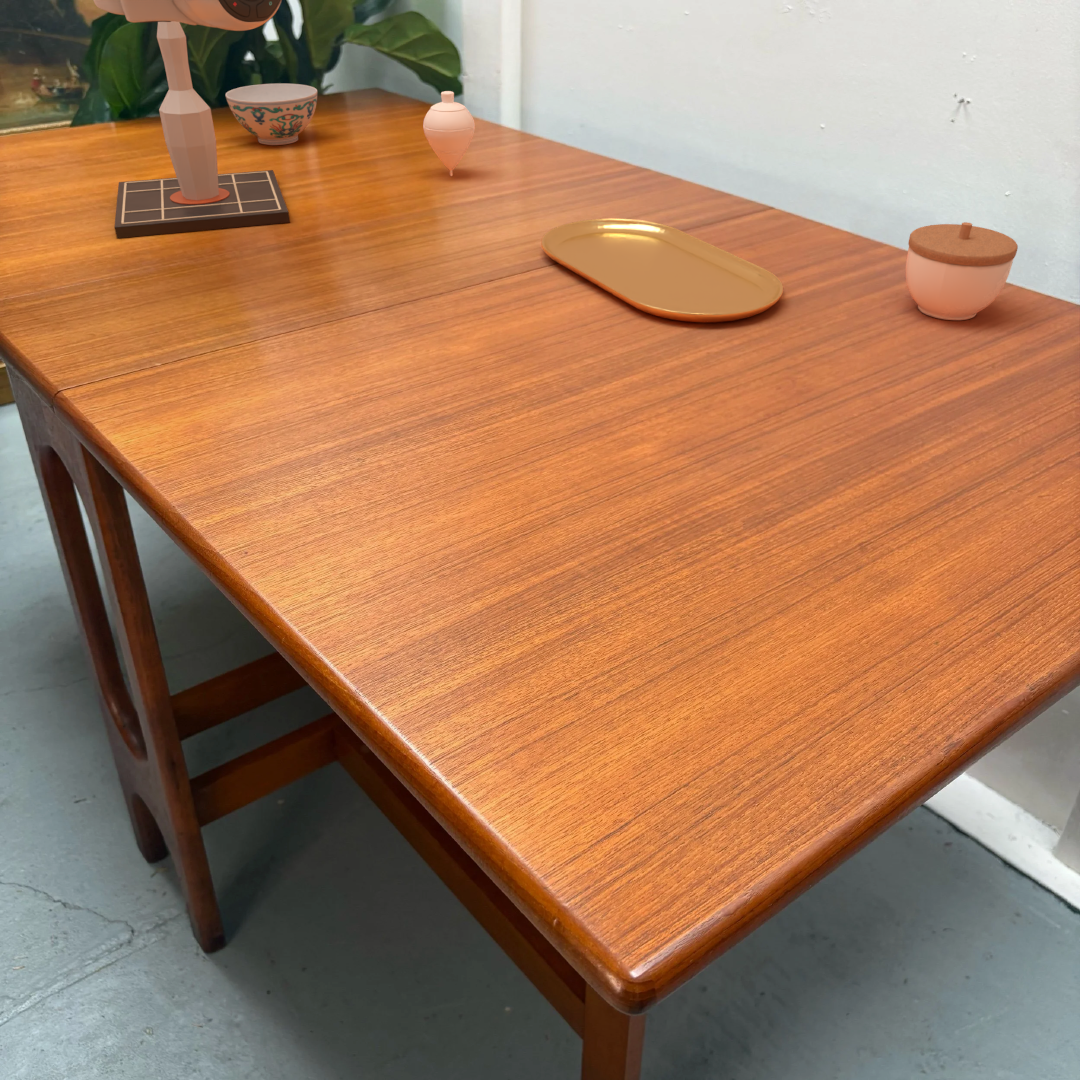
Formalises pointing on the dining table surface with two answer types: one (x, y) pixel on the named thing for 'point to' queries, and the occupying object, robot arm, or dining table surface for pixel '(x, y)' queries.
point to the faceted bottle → (186, 120)
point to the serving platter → (663, 269)
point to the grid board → (198, 205)
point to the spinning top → (449, 130)
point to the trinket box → (957, 268)
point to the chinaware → (273, 110)
